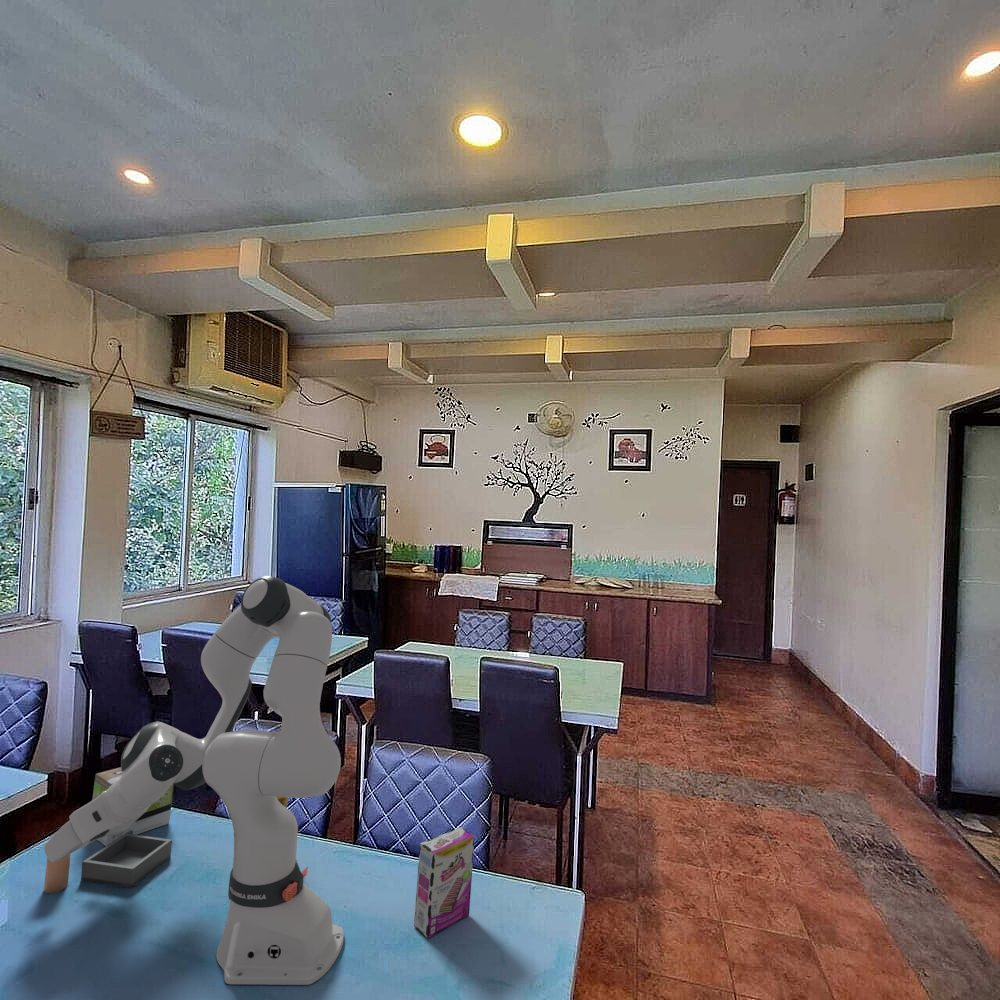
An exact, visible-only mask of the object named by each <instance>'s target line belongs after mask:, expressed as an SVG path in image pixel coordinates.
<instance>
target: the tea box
mask: <svg viewBox="0 0 1000 1000" xmlns="http://www.w3.org/2000/svg"><path fill="white" fill-rule="evenodd" d="M122 775H123V772H122V770H121V766H120V767H117V768H112V769H109V770H105V771H101V772H98V773H95V776H94V781H93V782H94V783H93V784H94V785H93V790H92V791H93V792H92V793H93V794H92V799H91V801H92V800H94V799H95V798H97V797H98V796H99V795H100V794H102V793H103V792H104V791H106V790H107V789H108V788H109V787H110V786H111V785H112V784H113V783H114V782H116V781H118V780H119V779H120V778H121V777H122ZM173 792H174V785H173V784H172V785H171V787H170V788H169V789H168V790H167V791H166V792H165V793H164V794H163V795H162V796H161V797H160V798H159V799H158V800H157V801H156V802H155V803H153V804H152V805H151V806H150V807H149V808H148V809H147V811H146V812H145V813H144V814H143V815H142V816H141V817H140V818H138V819H137V820H136V821H135V822H134V823H133V824H132V825H131V826H130V827H129V828H127V829H125V830H123V831H119V832H114V833H111V834H108V835H106V836H104V837H102V838H99V839H97V840H96V841H98V842H99V843H101V844H102V845H104V847H106V846H107V845H109V844H110V843H112V842H113V841H115V840H116V839H118V838H119V837H121V836H122V835H124V834H126V833H127V834H134V835H141V834H142V833H146V832H148V831H151V830H153V829H156V828H159V827H163V826H166V825H168V824H169V823H170V820H171V815H172V814H171V812H172V805H173V804H172V803H173Z"/></svg>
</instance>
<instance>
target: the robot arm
mask: <svg viewBox="0 0 1000 1000" xmlns="http://www.w3.org/2000/svg"><path fill="white" fill-rule="evenodd" d="M331 617H332V616H331V614H330V613H329V611H328V610H327V609H326V607H324V606H323V605H322V604H321V603H318V602H317V601H315V600H314V599H313V598H311V597H310V596H308V595H307V594H306V593H305V592H304V591H302V590H301V589H300V588H297V587H296V586H294V585H292V584H289V583H287V582H285V581H284V580H283V579H282V578H278V577H276V576H271V575H263V576H260V577H258V578H256V579H255V580H253V581H252V582H251V583H250V584H249V585H248V586H247V587H246V589H244V592H243V594H242V596H241V601H240V605H239V606H238V607H237V608H235V609H234V611H233V612H231V613H230V615H228V616H227V618H225V620H224V621H222V623H221V624H220V626H219V627H218V628H217V629H216V630H215V632H214V633H213V634H212V635H211V637H209V639H208V641H207V643H206V644H205V645H204V647H203V649H202V651H201V655H200V665H201V667H202V671H203V673H204V674H205V676H206V678H207V679H208V681H209V682H210V683H211V685H212V686H213V687H214V688H215V689H216V690H217V692H218V694H219V696H220V697H221V699H222V703H221V707H220V709H219V711H218V712H217V715H216V716H215V719H214V721H213V722H212V724H211V725H210V728H209V729H208V732H207V734H206V736H205V737H203V738H197V737H194V736H192V735H190V734H188V733H187V732H183V731H181V730H179V729H178V728H176V727H174V726H171V725H169V724H167V723H165V722H162V721H159V720H156V721H153V722H150V723H148V724H146V725H143V726H142V727H141V728H140V729H139V730H138V731H137V732H135V734H134V735H133V736H132V737H131V738H130V740H128V742H127V743H126V746H124V749H123V751H122V754H121V757H120V767H121V770H122V772H123V775H122V777H121V778H120V779H119V780H118V781H116V782H114V783H113V784H112V785H111V786H110V787H109V788H108V789H107V790H106V791H104V792H103V793H102V794H100V795H99V796H98V797H97V798H95V799H94V800H92V799H91V801H89V802H87V803H86V804H84V805H82V806H81V807H79V808H78V809H76V810H74V811H73V812H72V813H71V814H70V815H69V820H68V821H67V822H66V823H64V824H63V825H62V826H61V827H60V828H59V829H58V830H56V832H55V833H54V834H53V835H52V836H51V837H50V838H49V839H48V840H47V842H46V844H45V845H44V847H43V850H44V853H45V856H46V858H47V857H48V859H49V860H50V861H51V862H56V861H59V860H61V859H63V858H65V857H66V856H67V855H69V854H70V853H71V854H72V853H74V852H76V851H78V850H80V849H81V848H83V847H85V846H87V845H89V844H91V843H93V842H96V841H98V840H97V839H99V838H102V837H104V836H106V835H108V834H111V833H114V832H119V831H123V830H125V829H127V828H129V827H130V826H131V825H132V824H133V823H134V822H135V821H136V820H137V819H138V818H140V817H141V816H142V815H143V814H144V813H145V812H146V811H147V809H148V808H149V807H150V806H151V805H152V804H153V803H155V802H156V801H157V800H158V799H159V798H160V797H161V796H162V795H163V794H164V793H165V792H166V791H167V790H168V789H169V788H170V787H171V785H172V784H173V786H175V787H177V788H179V789H181V790H183V791H189V790H192V789H193V790H194V789H197V788H199V787H201V786H202V785H204V784H205V783H206V785H208V786H209V787H211V788H212V789H213V790H214V792H215V793H216V794H217V795H218V796H219V797H220V798H221V800H222V802H223V803H224V805H225V807H226V809H227V811H228V813H229V816H230V820H231V824H232V828H233V862H232V868H231V871H230V874H229V882H228V892H227V893H228V896H227V897H228V900H229V902H228V909H227V914H226V920H225V924H224V928H223V932H222V935H221V939H220V941H219V944H218V947H217V949H216V955H215V956H216V962H217V964H219V966H220V968H222V970H223V979H224V983H226V984H227V985H275V986H277V985H278V986H281V985H284V986H285V985H287V986H288V985H289V986H296V985H297V986H301V985H303V986H307V985H312V984H313V983H315V982H317V981H319V980H320V979H321V978H323V976H324V975H326V974H327V972H328V971H329V970H330V969H331V968H332V966H333V965H334V964H335V962H336V960H337V959H338V957H339V955H340V953H341V950H342V948H343V946H344V941H345V940H344V938H345V936H344V929H343V928H342V927H341V926H340V925H337V924H335V923H333V916H332V915H333V914H332V910H331V908H330V906H329V903H327V902H326V901H325V900H323V898H321V897H320V896H319V895H318V894H317V893H316V892H314V891H313V889H311V888H310V887H309V886H307V884H305V883H304V879H305V877H306V876H307V875H308V868H309V867H308V866H306V867H305V868H304V870H302V871H301V869H300V867H299V863H298V860H297V859H296V858H297V848H298V846H297V845H298V834H299V833H298V832H299V826H298V821H297V818H296V817H295V815H294V814H293V812H292V811H291V810H290V809H288V807H287V808H285V807H284V806H283V805H282V804H281V803H280V802H279V801H278V800H277V798H276V796H281V797H288V798H295V799H301V798H302V799H303V798H310V797H319V796H323V795H325V794H326V793H327V792H329V791H330V789H331V788H332V787H333V785H334V784H335V783H336V782H337V779H338V777H339V774H340V772H341V765H342V763H341V760H342V759H341V753H340V749H339V748H338V746H337V744H336V743H335V741H333V740H332V738H331V737H330V735H329V734H328V733H327V731H326V729H325V727H324V724H323V722H322V718H321V707H320V706H321V704H320V703H321V697H322V692H323V686H324V681H325V677H326V673H327V670H328V665H329V661H330V655H331V651H332V650H331V649H332V639H333V626H332V618H331ZM276 638H277V639H278V638H279V639H278V643H277V647H276V649H275V651H274V652H275V653H274V654H273V655H274V656H273V657H272V661H271V665H270V668H269V672H268V675H267V676H266V677H267V678H266V680H265V684H264V688H263V691H262V692H263V693H262V694H263V700H264V702H265V704H266V706H267V707H269V708H270V709H271V710H272V711H273V712H274V713H275V714H277V715H279V716H280V717H281V719H282V720H281V728H280V731H277V732H276V731H266V730H254V729H244V730H243V729H242V730H234V731H233V729H234V727H235V725H236V723H237V721H238V719H239V718H240V716H241V714H242V712H243V709H244V707H245V705H246V703H247V702H248V701H247V700H248V698H249V696H250V693H251V690H252V685H253V683H252V680H251V678H250V673H251V670H252V666H253V664H254V663H255V661H256V659H257V658H259V656H260V654H261V652H262V651H263V650H264V648H265V646H266V645H267V644H268V643H269V642H270V641H271V640H273V639H276Z"/></svg>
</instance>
